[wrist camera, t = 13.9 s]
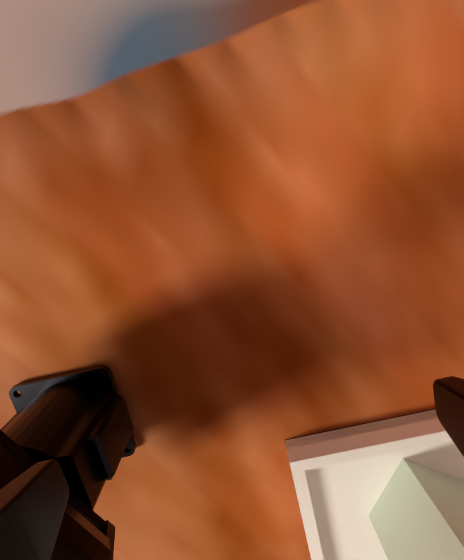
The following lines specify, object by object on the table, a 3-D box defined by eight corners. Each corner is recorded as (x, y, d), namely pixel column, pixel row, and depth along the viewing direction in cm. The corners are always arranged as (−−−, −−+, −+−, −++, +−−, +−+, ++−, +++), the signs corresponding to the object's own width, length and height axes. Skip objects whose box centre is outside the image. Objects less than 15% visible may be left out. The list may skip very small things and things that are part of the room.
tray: (314, 573, 26) (321, 604, 24) (284, 440, 23) (289, 462, 21) (527, 533, 25) (552, 561, 23) (522, 391, 22) (550, 409, 20)
